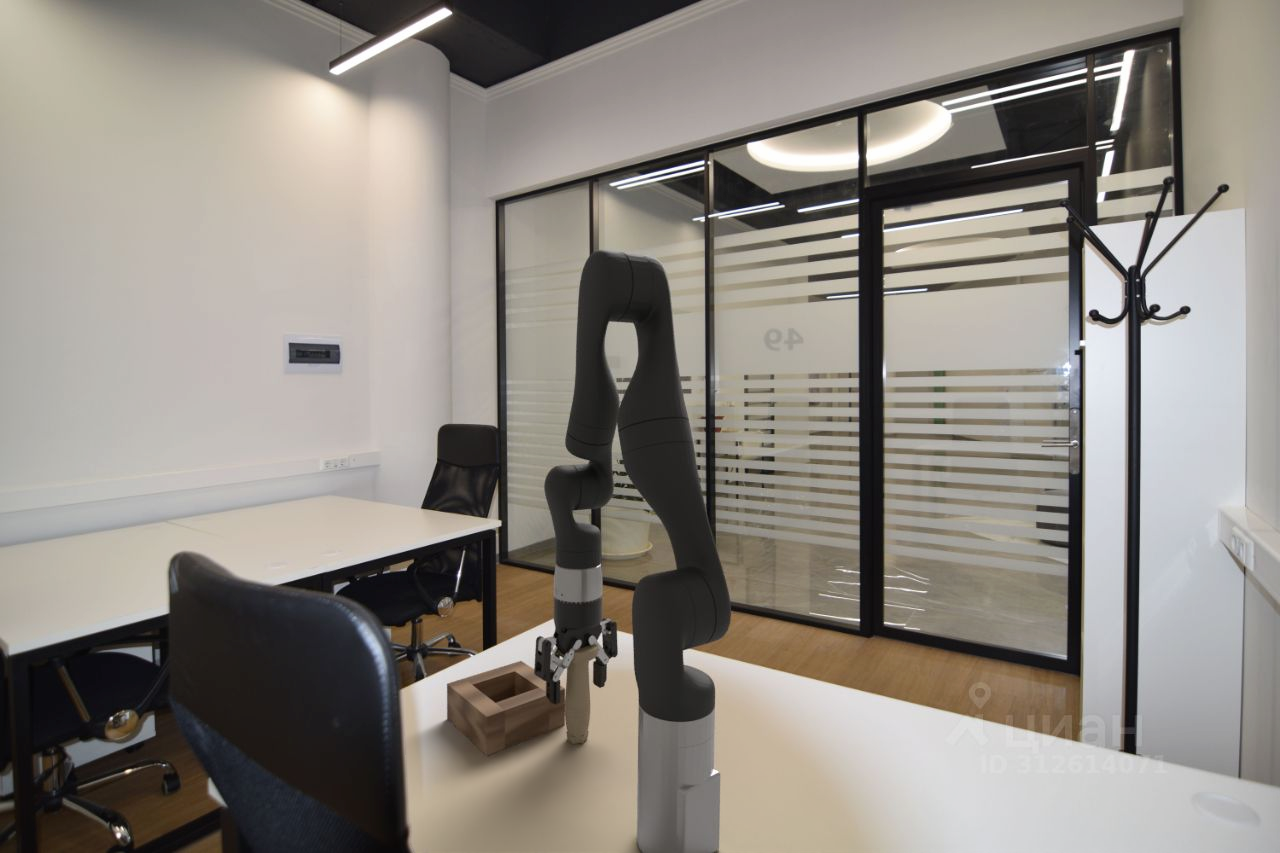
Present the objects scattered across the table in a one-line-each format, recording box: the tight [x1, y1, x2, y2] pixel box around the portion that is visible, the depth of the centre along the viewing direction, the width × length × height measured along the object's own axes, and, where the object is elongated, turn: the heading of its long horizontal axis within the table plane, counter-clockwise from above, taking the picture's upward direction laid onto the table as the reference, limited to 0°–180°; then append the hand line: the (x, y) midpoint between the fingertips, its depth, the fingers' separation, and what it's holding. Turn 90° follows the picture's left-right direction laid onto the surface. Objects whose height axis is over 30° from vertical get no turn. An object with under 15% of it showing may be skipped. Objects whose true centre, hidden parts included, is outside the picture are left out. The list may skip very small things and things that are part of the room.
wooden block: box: [446, 660, 566, 757], centre depth 103 cm, size 14×14×6 cm
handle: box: [559, 645, 598, 745], centre depth 98 cm, size 5×6×15 cm
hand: (577, 693), depth 98 cm, fingers open, 8 cm apart
